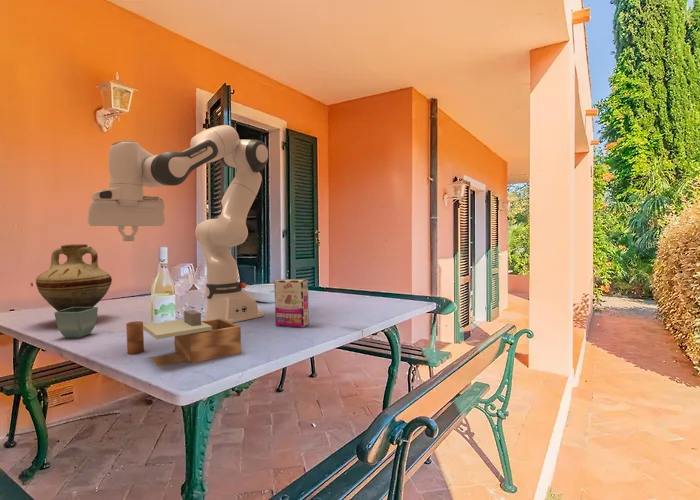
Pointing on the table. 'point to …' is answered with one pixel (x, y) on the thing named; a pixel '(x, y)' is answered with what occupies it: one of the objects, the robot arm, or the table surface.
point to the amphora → (73, 279)
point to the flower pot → (76, 321)
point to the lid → (178, 326)
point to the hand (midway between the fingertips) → (128, 241)
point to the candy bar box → (291, 303)
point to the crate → (205, 344)
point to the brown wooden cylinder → (135, 337)
